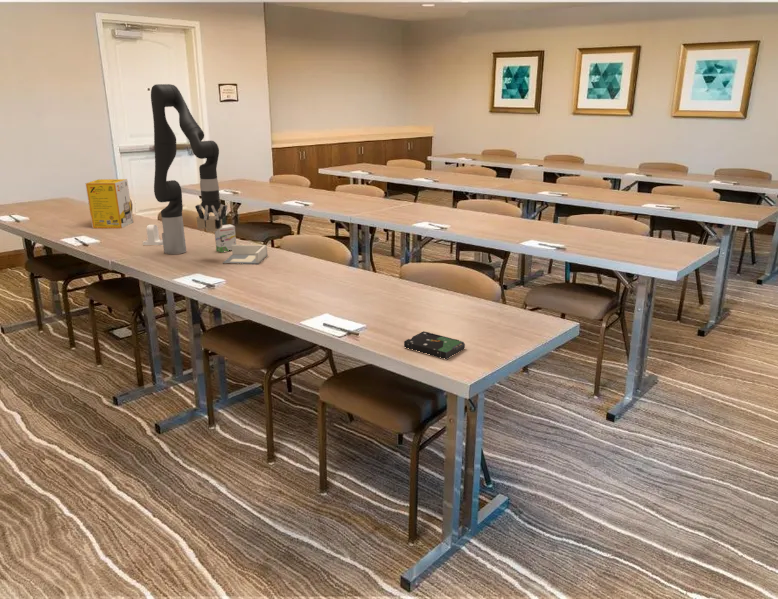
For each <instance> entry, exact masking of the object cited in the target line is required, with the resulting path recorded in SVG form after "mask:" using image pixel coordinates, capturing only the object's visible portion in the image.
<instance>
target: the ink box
mask: <svg viewBox="0 0 778 599" xmlns="http://www.w3.org/2000/svg"><path fill="white" fill-rule="evenodd" d="M214 240H215V248H216V249H215V250H216V252H218V251H219V252H218V253H220V252H222V253H225V252H224V251H228V252H230V251H229V250H232V245H237V238H236V226H235V225H233V224H230V223H229V224H222V228H220V229H219V230H217V231H216V232H214Z"/></svg>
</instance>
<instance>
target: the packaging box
mask: <svg viewBox="0 0 778 599" xmlns="http://www.w3.org/2000/svg"><path fill="white" fill-rule="evenodd" d="M85 190H86V197H87V200H88V208H89V213H90V220H91V226H92V229H123V228H125V227H127V226H129V225H131V224H132V223H134V219H133V218H134V217H133V212H132V211H133V210H132V205H131V204H132V202H131V198H130V197H131V196H130V190H129V182H128V178H116V179H114V178H112V179H110V178H108V179H105V178H104V179H102V178H101V179H100V178H99V179H95V180H93V181H90V182H86V183H85ZM128 224H129V225H128ZM126 225H127V226H126ZM124 226H125V227H124ZM122 227H123V228H122Z"/></svg>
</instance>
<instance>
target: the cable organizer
mask: <svg viewBox="0 0 778 599" xmlns="http://www.w3.org/2000/svg"><path fill="white" fill-rule="evenodd" d="M146 236H147V239H145V240H143V241H142V246H143V245H163V240H162V239H160V232H159V227H158V225H157V224H148V225H147V226H146Z"/></svg>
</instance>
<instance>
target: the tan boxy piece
mask: <svg viewBox="0 0 778 599" xmlns="http://www.w3.org/2000/svg"><path fill="white" fill-rule="evenodd" d="M216 220H217V219H216V217H215V215H209V218H208V219H206V227H205V220H204V219H201V218H200V217H199V215H198V216H197V217H196V225H197V229H201V230H202V229H203V230H204V229H206V232H213V233H215V232H216V231H217V230H219V229H220V228H222V225H223V219H221V227H220V228H219V229H217V224H216Z"/></svg>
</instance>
